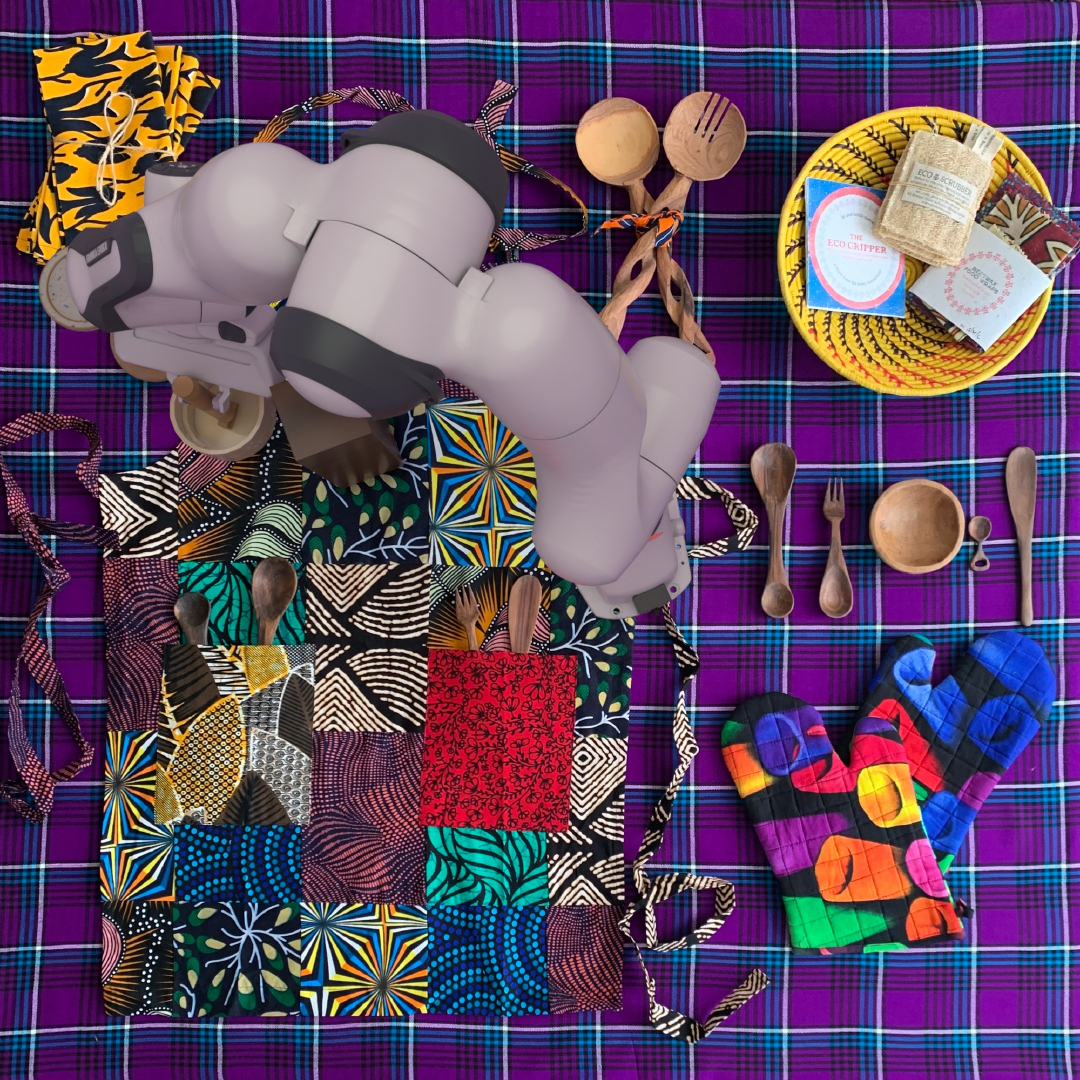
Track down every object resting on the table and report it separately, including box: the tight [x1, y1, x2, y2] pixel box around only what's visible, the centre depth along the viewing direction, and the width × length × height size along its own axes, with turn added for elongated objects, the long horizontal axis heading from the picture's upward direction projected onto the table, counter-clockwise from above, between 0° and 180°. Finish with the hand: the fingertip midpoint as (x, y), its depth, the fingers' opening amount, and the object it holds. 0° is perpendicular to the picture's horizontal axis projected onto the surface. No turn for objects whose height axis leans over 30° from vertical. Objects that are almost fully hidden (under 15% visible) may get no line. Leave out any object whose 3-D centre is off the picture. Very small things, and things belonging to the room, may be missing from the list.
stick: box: [171, 376, 239, 430], centre depth 115 cm, size 4×3×16 cm
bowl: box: [169, 378, 277, 462], centre depth 120 cm, size 12×12×6 cm
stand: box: [269, 379, 405, 490], centre depth 112 cm, size 9×9×22 cm
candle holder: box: [38, 245, 169, 383], centre depth 114 cm, size 12×12×20 cm
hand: (204, 405), depth 114 cm, fingers open, 3 cm apart
